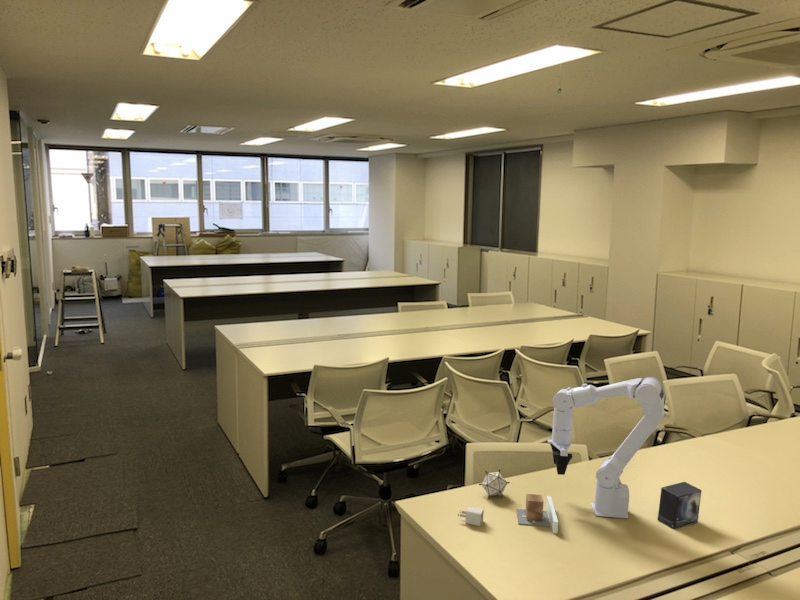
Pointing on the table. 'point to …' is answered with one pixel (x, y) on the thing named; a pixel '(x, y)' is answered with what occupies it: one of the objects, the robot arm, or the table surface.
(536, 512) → the walnut block
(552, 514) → the frosted wall
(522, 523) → the pad
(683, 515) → the small box
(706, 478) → the table surface
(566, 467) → the robot arm
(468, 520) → the usb wall charger
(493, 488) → the game die
